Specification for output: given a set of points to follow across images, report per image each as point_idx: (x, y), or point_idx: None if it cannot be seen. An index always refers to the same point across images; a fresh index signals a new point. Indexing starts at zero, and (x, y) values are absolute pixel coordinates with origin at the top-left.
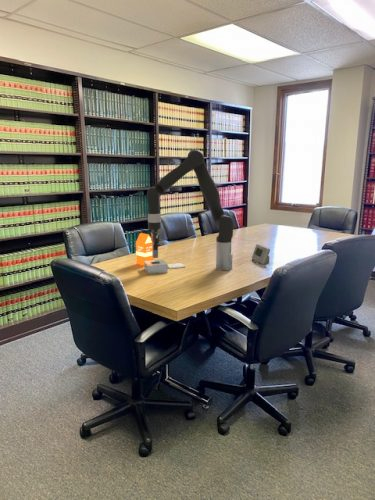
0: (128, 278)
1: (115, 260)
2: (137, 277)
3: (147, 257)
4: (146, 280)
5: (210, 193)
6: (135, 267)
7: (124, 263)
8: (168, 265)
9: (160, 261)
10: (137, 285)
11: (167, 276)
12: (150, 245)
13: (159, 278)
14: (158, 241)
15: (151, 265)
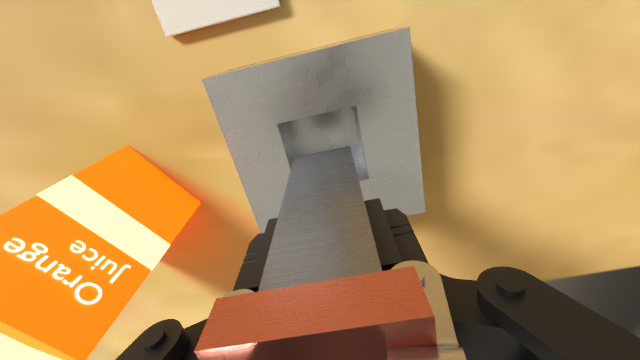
0: (461, 276)
1: (97, 350)
2: (458, 236)
3: (150, 222)
4: (541, 186)
5: None
6: (237, 256)
7: (152, 311)
8: (203, 15)
9: (280, 105)
10: (615, 230)
11: (505, 33)
12: (14, 275)
13: (533, 101)
14: (595, 318)
15: (411, 185)
